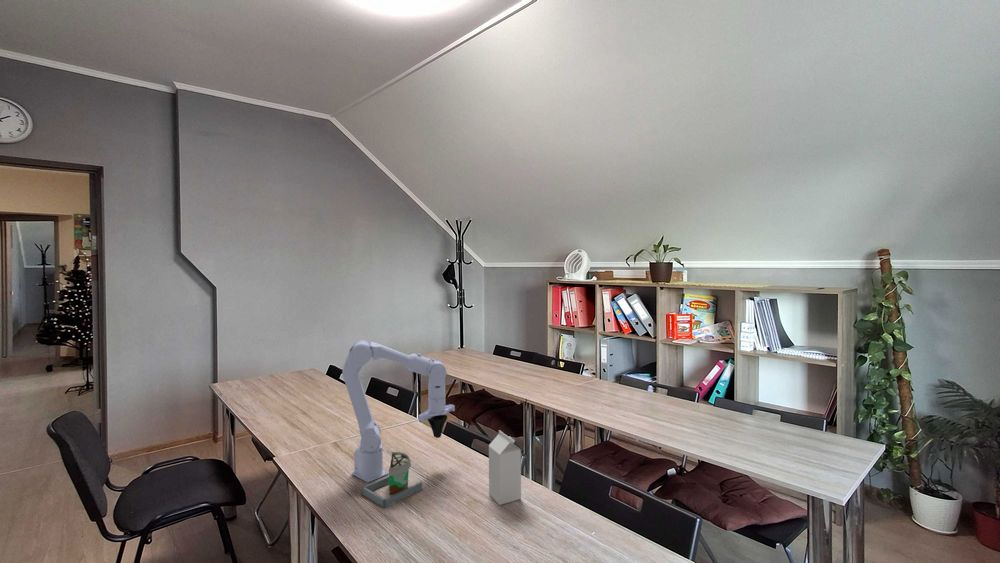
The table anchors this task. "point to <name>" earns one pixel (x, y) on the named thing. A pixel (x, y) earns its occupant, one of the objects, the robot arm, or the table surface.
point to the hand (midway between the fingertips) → (437, 436)
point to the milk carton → (504, 469)
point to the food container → (398, 472)
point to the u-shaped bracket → (392, 499)
